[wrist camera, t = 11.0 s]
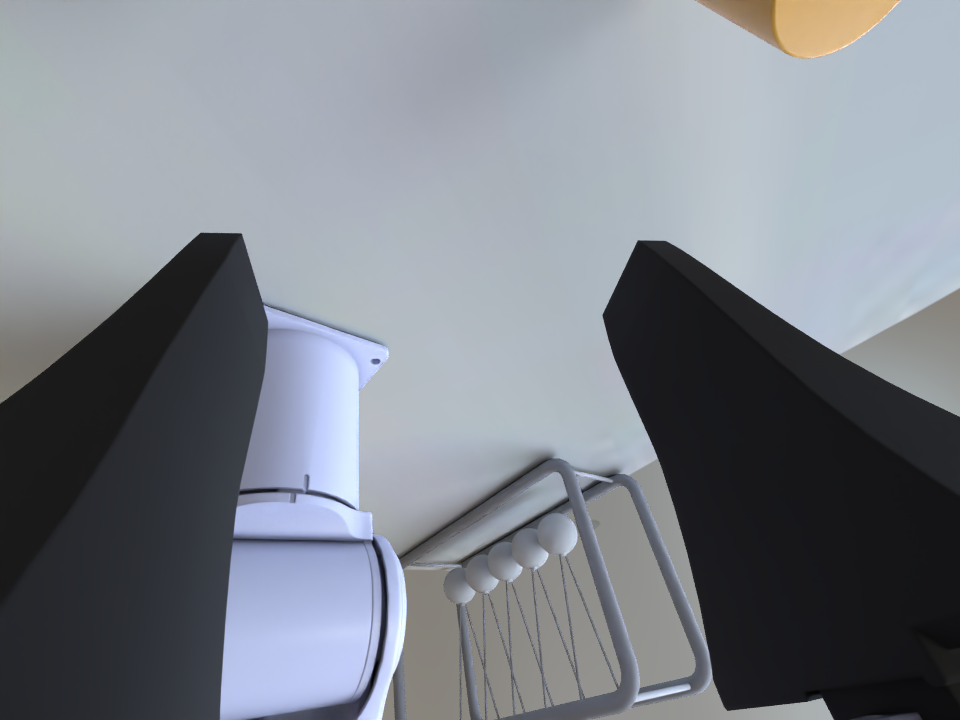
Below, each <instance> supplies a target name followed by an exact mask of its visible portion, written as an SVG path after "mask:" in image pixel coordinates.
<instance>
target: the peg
mask: <svg viewBox="0 0 960 720" xmlns="http://www.w3.org/2000/svg"><path fill="white" fill-rule="evenodd" d="M695 1H697V2H699V3H700V4H702V5H704V6H705V7H707V8H709V9H711V10H712V11H714V12H716V13H717V14H719V15H721V16H723V17H724V18H726V19H728V20H729V21H731V22H733V23H735V24H736V25H738V26H740V27H742V28H743V29H745V30H747V31H748V32H750V33H752V34H754V35H755V36H757V37H759V38H760V39H762V40H764V41H766V42H767V43H769V44H771V45H772V46H774V47H776V48H778V49H779V50H781V51H783V52H784V53H786V54H788V55H790V56H792V57H797V58H807V59H809V58H816V57H821V56H825V55H828V54H831V53H833V52H836V51H838V50H840V49H842V48H844V47H846V46H848V45H850V44H851V43H853V42H854V41H856V40H857V39H859V38H860V37H862V36H863V35H864V34H866V33H867V32H868V31H870V30H871V29H872V28H873V27H874V26H875V25H877V24H878V23H879V22H880V21H881V20H882V19H883V18H884V17H885V16H886V15H887V14H888V13H889V12H890V11H891V10H892V9H893V8H894V7H895V6H896V5H897V4H898V3H899V1H900V0H695Z"/></svg>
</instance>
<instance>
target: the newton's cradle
mask: <svg viewBox="0 0 960 720" xmlns="http://www.w3.org/2000/svg"><path fill="white" fill-rule="evenodd" d="M553 472H559V473H560V474H561V476H562V478H563V481H564V484H565V487H566V491H567V494H568V497H569V500H570V501H568V502H566V503H564V504H563V505H561V506H559V507H557V508H556V509H554V510H552V511H550V512H549V513H547V514H545V515H544V516H542V517H540V518H538V519H537V520H535V521H533V522H531V523H530V524H528V525H526V526H524V527H523V528H521V529H519V530H517V531H516V532H514V533H512V534H511V535H509V536H507V537H505V538H504V539H502V540H500V541H498V542H497V543H495V544H493V545H491V546H490V547H488V548H486V549H484V550H483V551H481V552H479V553H478V554H476V555H474V556H472V557H471V558H469V559H467V560H465V561H464V562H462V563H461V564H436V563H413V562H414V561H416V560H417V559H419V558H420V557H422V556H423V555H425V554H427V553H428V552H430V551H431V550H433V549H434V548H436V547H437V546H439V545H441V544H442V543H444V542H445V541H447V540H448V539H450V538H451V537H453V536H455V535H456V534H458V533H459V532H461V531H462V530H464V529H466V528H467V527H469V526H470V525H472V524H473V523H475V522H476V521H478V520H480V519H481V518H483V517H484V516H486V515H487V514H489V513H490V512H492V511H494V510H495V509H497V508H498V507H500V506H501V505H503V504H504V503H506V502H508V501H509V500H511V499H512V498H514V497H515V496H517V495H519V494H520V493H522V492H523V491H525V490H526V489H528V488H529V487H531V486H533V485H534V484H536V483H537V482H539V481H540V480H542V479H543V478H545V477H547V476H548V475H550V474H551V473H553ZM576 475H577V476H582V477H586V478H591V479H596V480H600V481H603V482H601V483H599V484H597V485H596V486H594V487H592V488H590V489H589V490H587V491H585V492H583V493H582V492H581V489H580V486H579V483H578V480H577V477H576ZM619 486H625V487H626V488H627V489H628V490H629V492H630V494H631V497H632V499H633V502H634V504H635V507H636V509H637V512H638V514H639V516H640V519H641V522H642V524H643V527H644V529H645V532H646V534H647V537H648V540H649V542H650V544H651V547H652V550H653V552H654V555H655V557H656V560H657V562H658V565H659V567H660V570H661V572H662V575H663V577H664V580H665V582H666V585H667V588H668V590H669V592H670V595H671V597H672V600H673V603H674V605H675V608H676V610H677V613H678V615H679V618H680V620H681V623H682V626H683V627H684V631H685V633H686V636H687V638H688V641H689V643H690V645H691V648H692V651H693V653H694V656H695V660H696V668H695V672H694V673H693V675H692V676H689V677H686V678H682V679H678V680H673V681H669V682H664V683H660V684H656V685H652V686H647V687H643V688H640V686H639V685H640V674H639V670H638V665H637V661H636V658H635V655H634V652H633V648H632V646H631V643H630V639H629V636H628V633H627V630H626V627H625V624H624V621H623V618H622V615H621V612H620V609H619V606H618V602H617V599H616V596H615V593H614V590H613V587H612V584H611V581H610V578H609V575H608V572H607V569H606V566H605V563H604V560H603V556H602V553H601V550H600V547H599V544H598V541H597V538H596V535H595V532H594V529H593V526H592V523H591V520H590V517H589V513H588V510H587V508H586V504H587V503H589V502H591V501H593V500H595V499H597V498H598V497H600V496H602V495H604V494H606V493H607V492H609V491H611V490H613V489H615V488H616V487H619ZM571 512H573V513H574V517H575V520H576V523H577V527H578V530H579V533H580V537H581V540H582V543H583V546H584V549H585V553H586V556H587V559H588V563H589V566H590V569H591V573H592V576H593V579H594V583H595V586H596V589H597V592H598V596H599V599H600V602H601V606H602V609H603V612H604V615H605V619H606V622H607V625H608V629H609V632H610V635H611V638H612V642H613V645H614V648H615V651H616V655H617V658H618V661H619V664H620V669H621V683H620V687H618V684H617V682H616V679H615V677H614V674H613V671H612V669H611V666H610V664H609V661H608V659H607V657H606V654H605V651H604V649H603V646H602V644H601V641H600V639H599V636H598V634H597V631H596V629H595V626H594V624H593V621H592V619H591V616H590V614H589V611H588V608H587V606H586V603H585V601H584V598H583V596H582V593H581V591H580V589H579V586H578V583H577V581H576V578H575V576H574V573H573V571H572V568H571V566H570V563H569V561H568V558H567V556H566V554H567V553H569V552H570V551H571V550H572V549H573V548H574V546H575V544H576V542H577V530H576V527H575V525H574V523H573V522H572V520H570V518H568V517H567V516H566V515H568V514H569V513H571ZM549 553H550V554H552V555H556V556H560V563H561V569H562V577H563V584H564V591H565V598H566V605H567V612H568V618H569V625H570V632H571V639H572V646H573V653H574V660H575V667H576V672H575V669H574V666H573V664H572V661H571V658H570V655H569V653H568V650H567V647H566V644H565V642H564V639H563V636H562V633H561V631H560V628H559V625H558V622H557V620H556V617H555V614H554V612H553V608H552V606H551V603H550V600H549V598H548V595H547V592H546V589H545V586H544V584H543V581H542V578H541V575H540V573H539V570H538V567H540V566H542V565H543V564H544V563H545V561H546V560H547V558H548V554H549ZM561 557H565V558H566V560H567V563H568V565H569V568H570V570H571V573H572V575H573V578H574V580H575V583H576V586H577V588H578V591H579V593H580V595H581V598H582V601H583V603H584V606H585V608H586V611H587V613H588V616H589V618H590V621H591V623H592V626H593V628H594V631H595V633H596V636H597V639H598V641H599V644H600V646H601V649H602V651H603V654H604V656H605V659H606V661H607V664H608V666H609V669H610V671H611V674H612V677H613V679H614V682H615V684H616V687H617V689H618V690H616V691H615V692H612V693H607V694H603V695H599V696H594V697H590V698H586V699H585V697H584V694H583V691H582V689H581V686H580V681H579V674H578V667H577V660H576V654H575V647H574V640H573V633H572V626H571V619H570V613H569V606H568V599H567V592H566V585H565V578H564V572H563V565H562V558H561ZM399 561H400V564H401V567H402V569H403V568H405V567H406V566H422V567H450V568H455V569H453V570H451V571H450V572H449V573H448V574H447V576H446V577H445V580H444V592H445V595H446V597H447V598H448V599H449V600H450V601H451V602H453V603H456V605H457V614H458V621H459V629H460V720H462V702H461V701H462V698H461V697H462V690H461V689H462V688H461V646H462V654H463V661H464V671H465V678H466V687H467V695H468V703H469V711H470V716H471V720H482V718H481V715H480V710H479V702H478V695H477V687H476V680H475V673H474V665H473V659H472V650H471V643H470V635H469V628H468V620H467V614H468V617H469V621H470V624H471V628H472V631H473V634H474V638H475V641H476V645H477V648H478V651H479V655H480V659H481V662H482V665H483V669H484V675H485V676H484V677H485V718H486V719H485V720H487V693H486V679H487V683H488V686H489V689H490V693H491V696H492V700H493V703H494V707H495V710H496V713H497V717H498V719H497V720H590V719H595V718H600V717H605V716H609V715H615V714H619V713H622V712H624V711H626V710H628V709H630V708H633V707H638V706H643V705H648V704H653V703H658V702H662V701H667V700H672V699H676V698H682V697H687V696H691V695H696V694H698V693H700V692H702V691H704V690H705V689H706V687H707V686H708V685H709V683H710V680H711V677H712V668H711V662H710V656H709V650H708V648H707V646H706V643H705V641H704V639H703V636H702V634H701V631H700V629H699V626H698V624H697V622H696V619H695V617H694V614H693V612H692V609H691V607H690V605H689V602H688V600H687V598H686V595H685V593H684V590H683V588H682V586H681V583H680V581H679V578H678V576H677V573H676V571H675V569H674V566H673V564H672V562H671V559H670V556H669V554H668V552H667V549H666V547H665V544H664V542H663V540H662V537H661V535H660V532H659V530H658V528H657V525H656V523H655V520H654V518H653V515H652V513H651V511H650V508H649V506H648V504H647V501H646V499H645V496H644V494H643V492H642V489H641V487H640V486H639V484H638V482H637V481H636V480H634V479H633V478H632V477H630V476H628V475H625V474H617V475H614V476H611V477H609V478H606V477H601V476H597V475H592V474H588V473H584V472H579V471H575V470H573V468H572V467H571V466H570V465H569V464H568V463H567V462H566V461H564V460H562V459H550V460H548V461H545V462H544V463H542V464H541V465H539V466H538V467H536V468H535V469H533V470H532V471H530V472H529V473H527V474H526V475H524V476H523V477H521V478H520V479H518V480H517V481H515V482H514V483H512V484H511V485H509V486H508V487H506V488H505V489H503V490H502V491H501V492H499V493H498V494H496V495H495V496H493V497H492V498H490V499H489V500H487V501H486V502H484V503H483V504H481V505H480V506H478V507H477V508H475V509H474V510H472V511H471V512H469V513H468V514H466V515H465V516H463V517H462V518H460V519H459V520H457V521H456V522H454V523H453V524H451V525H450V526H448V527H447V528H445V529H444V530H442V531H441V532H439V533H438V534H436V535H435V536H433V537H432V538H430V539H429V540H427V541H426V542H424V543H423V544H421V545H420V546H418V547H417V548H415V549H414V550H412V551H411V552H409V553H408V554H406V555H405V556H403V557H402V558H400V559H399ZM522 568H526V569H532V581H533V591H534V601H535V611H536V621H537V631H538V642H539V652H540V662H541V666H540V663H539V660H538V657H537V654H536V651H535V648H534V645H533V642H532V639H531V636H530V633H529V629H528V627H527V623H526V620H525V617H524V614H523V611H522V608H521V606H520V602H519V599H518V596H517V593H516V590H515V587H514V584H513V582H512V580H514V579H515V578H517V577H518V576H519V574H520V573H521V571H522ZM536 570H537V572H538V575H539V577H540V580H541V583H542V586H543V588H544V591H545V594H546V597H547V599H548V602H549V605H550V608H551V611H552V613H553V616H554V618H555V621H556V624H557V627H558V630H559V633H560V636H561V638H562V641H563V644H564V647H565V649H566V652H567V655H568V658H569V660H570V663H571V666H572V669H573V671H574V674H575V677H576V680H577V683H578V688H579V695H580V700H577V701H573V702H569V703H565V704H560V705H557V706H554V705H553V702H552V699H551V696H550V693H549V690H548V687H547V684H546V681H545V678H544V674H543V664H542V654H541V644H540V634H539V624H538V615H537V604H536V594H535V584H534V574H533V571H536ZM499 580H500V581H506V592H507V609H508V627H509V645H510V660H509V656H508V653H507V650H506V646H505V643H504V640H503V637H502V633H501V630H500V627H499V623H498V620H497V617H496V613H495V610H494V607H493V603H492V600H491V597H490V594H489V591H491V590H493V589H494V588H495V586H496V585H497V584H498V582H499ZM508 583H512V586H513V589H514V592H515V595H516V598H517V601H518V604H519V607H520V610H521V613H522V616H523V619H524V622H525V625H526V628H527V631H528V635H529V638H530V641H531V643H532V647H533V650H534V653H535V656H536V659H537V662H538V665H539V668H540V671H541V674H542V683H543V693H544V703H545V708H543V709H539V710H535V711H531V712H526V713H525V710H524V706H523V703H522V700H521V696H520V693H519V690H518V686H517V683H516V680H515V676H514V673H513V666H512V650H511V633H510V616H509V599H508ZM476 591H477V592H480V593H483V631H484V663H483V660H482V657H481V653H480V650H479V646H478V643H477V640H476V636H475V633H474V629H473V626H472V622H471V619H470V616H469V612H468V609H467V605H466V603H467V602H469V601H470V600H471V599H472V598H473V596H474V594H475V592H476ZM486 594H488V595H489V599H490V602H491V605H492V609H493V612H494V615H495V618H496V622H497V625H498V629H499V632H500V635H501V638H502V642H503V645H504V649H505V652H506V655H507V659H508V662H509V665H510V669H511V679H512V697H513V712H514V715H513V716H509V717H505V718H501V719H500V718H499V715H498V711H497V708H496V704H495V701H494V698H493V694H492V691H491V687H490V684H489V681H488V677H487V674H486V652H485V609H484V595H486ZM466 610H467V613H466ZM510 662H511V663H510ZM576 674H577V675H576ZM513 679H514V682H515V685H516V688H517V692H518V695H519V699H520V702H521V705H522V709H523V712H524V713H522V714H518V715H515V701H514V684H513ZM544 683H545V684H544ZM393 684H394V708H395V720H406V705H405V684H404V665H403V648H402V651H401V655H400V659H399V662H398V665H397V667H396V670H395V672H394V674H393ZM545 686H546V689H547V692H548V695H549V699H550V702H551V705H552V707H548V708H547V704H546V694H545ZM582 697H583V699H582Z"/></svg>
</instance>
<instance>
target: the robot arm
mask: <svg viewBox="0 0 960 720" xmlns="http://www.w3.org/2000/svg"><path fill="white" fill-rule="evenodd" d="M603 319H604V323H605V327H606V331H607V335H608V339H609V342H610V346H611V349H612V352H613V356H614V358H615V361H616V363H617V366H618V368H619V370H620V373H621V375H622V377H623V380H624V382H625V384H626V387H627V389H628V391H629V393H630V395H631V398H632V400H633V402H634V404H635V407H636V409H637V411H638V413H639V416H640V418H641V420H642V422H643V424H644V427H645V429H646V431H647V433H648V436H649V438H650V440H651V442H652V445H653V447H654V449H655V452H656V454H657V457H658V459H659V462H660V465H661V467H662V470H663V473H664V476H665V480H666V483H667V486H668V489H669V492H670V495H671V498H672V501H673V505H674V507H675V511H676V515H677V518H678V522H679V525H680V529H681V532H682V536H683V539H684V543H685V546H686V550H687V553H688V558H689V562H690V566H691V570H692V574H693V579H694V583H695V587H696V591H697V595H698V599H699V604H700V608H701V614H702V619H703V624H704V629H705V635H706V640H707V644H708V650H709V656H710V662H711V668H712V674H713V680H714V683H715V686H716V688H717V690H718V693H719V695H720V698H721V700H722V703H723V705H724V707H725V708H726V710H727V711H730V710H739V709H747V708H756V707H765V706H774V705H782V704H791V703H800V702H808V701H812V700H816V699H820V698H823V699H824V701H825V703H826V705H827V707H828V709H829V711H830V713H831V715H832V717H833V719H834V720H960V417H959V416H957V415H954V414H952V413H950V412H948V411H946V410H944V409H942V408H940V407H938V406H935V405H934V404H931V403H929V402H927V401H925V400H923V399H921V398H919V397H917V396H915V395H913V394H911V393H909V392H907V391H905V390H903V389H901V388H899V387H897V386H895V385H893V384H891V383H889V382H887V381H885V380H883V379H882V378H880V377H878V376H876V375H875V374H873V373H871V372H869V371H867V370H865V369H864V368H862V367H860V366H858V365H856V364H854V363H853V362H851V361H849V360H847V359H845V358H844V357H842V356H840V355H839V354H837V353H835V352H834V351H832V350H830V349H829V348H827V347H825V346H824V345H822V344H820V343H819V342H817V341H816V340H814V339H813V338H811V337H809V336H808V335H806V334H805V333H803V332H802V331H800V330H798V329H797V328H795V327H794V326H792V325H791V324H789V323H788V322H786V321H785V320H783V319H782V318H780V317H779V316H777V315H776V314H774V313H773V312H771V311H770V310H768V309H767V308H765V307H764V306H762V305H761V304H759V303H758V302H756V301H755V300H754V299H752V298H751V297H749V296H748V295H746V294H745V293H744V292H742V291H741V290H739V289H738V288H736V287H735V286H734V285H732V284H731V283H729V282H728V281H726V280H725V279H724V278H722V277H721V276H719V275H718V274H716V273H715V272H714V271H712V270H711V269H709V268H708V267H706V266H705V265H704V264H702V263H701V262H699V261H698V260H696V259H695V258H693V257H692V256H690V255H689V254H687V253H685V252H684V251H682V250H681V249H679V248H677V247H676V246H674V245H672V244H670V243H668V242H667V241H640V240H638V241H637V244H636V246H635V248H634V250H633V252H632V254H631V256H630V258H629V260H628V262H627V265H626V267H625V269H624V271H623V273H622V275H621V277H620V279H619V281H618V284H617V286H616V288H615V290H614V292H613V294H612V296H611V298H610V300H609V303H608V305H607V307H606V309H605V311H604V313H603ZM388 356H389V352H388V349H387V347H385V346H382V345H379V344H376V343H373V342H370V341H368V340H365V339H362V338H359V337H356V336H353V335H350V334H347V333H344V332H341V331H338V330H335V329H332V328H329V327H326V326H323V325H320V324H317V323H315V322H312V321H309V320H306V319H303V318H300V317H297V316H294V315H291V314H288V313H285V312H282V311H279V310H276V309H273V308H270V307H267V306H265V305H263V302H262V299H261V296H260V293H259V289H258V286H257V283H256V279H255V276H254V273H253V269H252V266H251V263H250V259H249V256H248V253H247V250H246V246H245V243H244V240H243V236H242V234H239V233H200V234H199V235H198V236H197V237H195V238H194V239H193V240H192V241H191V242H190V243H189V244H188V245H186V246H185V247H184V248H183V249H182V250H181V251H180V252H179V253H178V254H177V255H176V256H175V257H174V258H173V259H172V260H171V261H170V262H169V263H168V264H166V265H165V266H164V267H163V268H162V269H161V270H160V271H159V272H158V273H157V274H156V275H155V276H154V277H153V278H152V279H151V280H150V281H149V282H147V283H146V284H145V285H144V286H143V287H142V288H141V289H140V290H139V291H138V292H136V293H135V294H134V295H133V296H132V297H131V298H130V299H129V300H128V301H127V302H126V303H124V304H123V305H122V306H121V307H120V308H119V309H118V310H117V311H116V312H115V313H114V314H112V315H111V316H110V317H109V318H108V319H107V320H105V321H104V322H103V323H102V324H101V325H99V326H98V327H97V328H96V329H95V330H93V331H92V332H91V333H90V334H89V335H87V336H86V337H85V338H84V339H83V340H81V341H80V342H79V343H78V344H76V345H75V346H74V347H73V348H72V349H70V350H69V351H68V352H67V353H66V354H64V355H63V356H62V357H61V358H60V359H58V360H57V361H56V362H55V363H53V364H52V365H51V366H50V367H49V368H47V369H46V370H45V371H44V372H42V373H41V374H40V375H38V376H37V377H36V378H34V379H33V380H32V381H30V382H29V383H28V384H26V385H25V386H24V387H22V388H21V389H20V390H18V391H17V392H16V393H14V394H13V395H12V396H10V397H9V398H8V399H6V400H5V401H3V402H2V403H0V720H382V714H383V709H384V705H385V699H386V696H387V692H388V688H389V685H390V681H391V678H392V675H393V674H394V672H395V670H396V667H397V665H398V662H399V659H400V655H401V651H402V647H403V642H404V635H405V627H406V605H407V604H406V588H405V580H404V575H403V570H402V567H401V564H400V561H399V559H398V557H397V555H396V554H395V552H394V550H393V548H392V546H391V544H390V543H389V542H388V540H387V539H386V538H385V537H383V536H382V535H377V534H373V531H372V513H371V512H363V511H359V391H360V390H361V389H362V388H363V386H364V385H365V384H366V383H367V382H368V381H369V379H370V378H371V377H372V376H373V375H374V374H375V372H376V371H377V370H378V369H379V368H380V367H381V365H382V364H383V363H384V362H385V361H386V360H387V358H388ZM374 358H376V359H374Z"/></svg>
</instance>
